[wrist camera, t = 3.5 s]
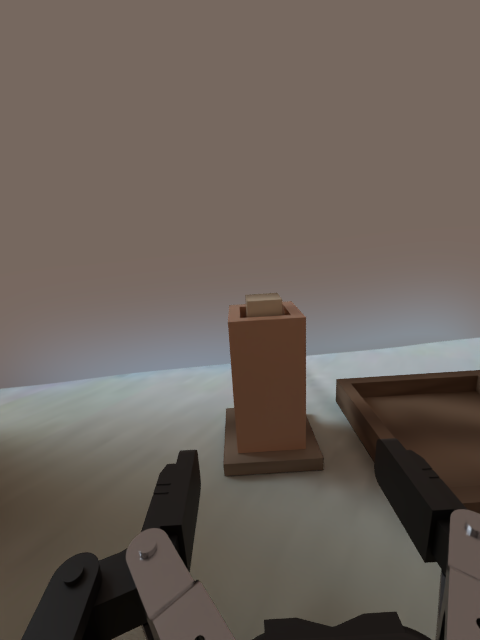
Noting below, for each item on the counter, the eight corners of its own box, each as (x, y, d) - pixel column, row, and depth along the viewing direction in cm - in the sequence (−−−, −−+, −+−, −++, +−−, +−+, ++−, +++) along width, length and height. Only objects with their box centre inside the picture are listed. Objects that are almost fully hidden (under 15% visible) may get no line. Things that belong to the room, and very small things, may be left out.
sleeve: (305, 448, 21) (305, 317, 19) (237, 453, 21) (227, 322, 19) (292, 410, 26) (291, 301, 24) (237, 414, 26) (229, 305, 24)
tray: (685, 524, 16) (701, 487, 15) (424, 541, 16) (429, 505, 15) (476, 392, 29) (479, 370, 28) (335, 401, 29) (336, 379, 28)
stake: (323, 469, 21) (326, 304, 18) (224, 476, 21) (209, 311, 17) (301, 413, 27) (300, 286, 24) (227, 417, 27) (216, 291, 24)
